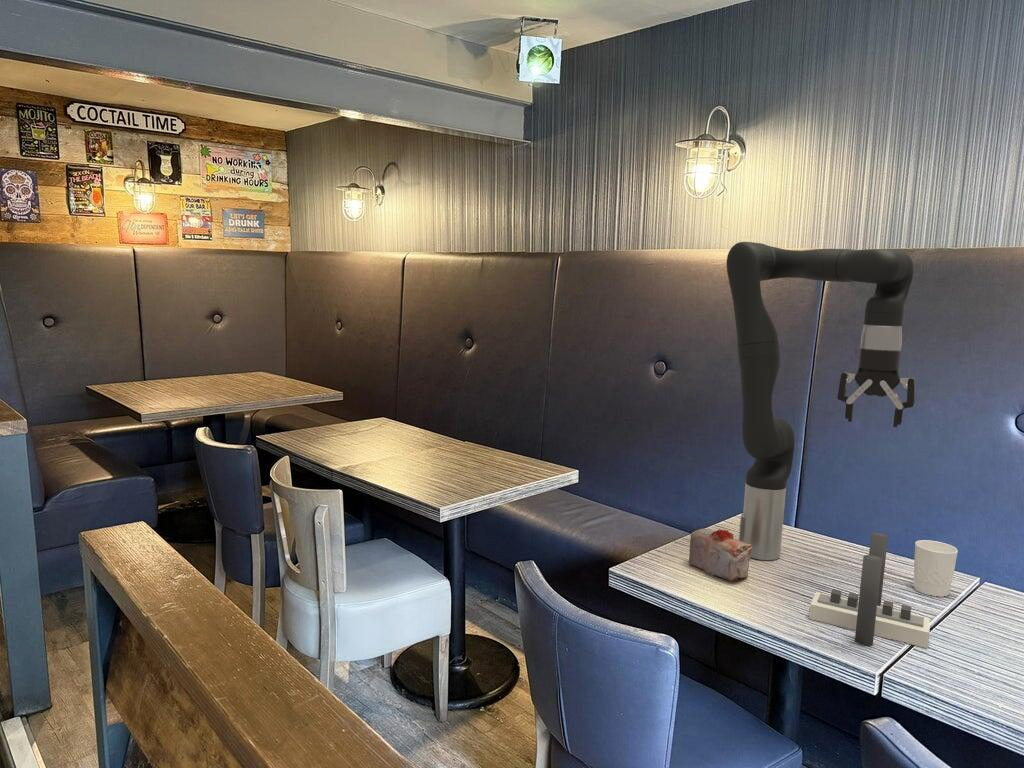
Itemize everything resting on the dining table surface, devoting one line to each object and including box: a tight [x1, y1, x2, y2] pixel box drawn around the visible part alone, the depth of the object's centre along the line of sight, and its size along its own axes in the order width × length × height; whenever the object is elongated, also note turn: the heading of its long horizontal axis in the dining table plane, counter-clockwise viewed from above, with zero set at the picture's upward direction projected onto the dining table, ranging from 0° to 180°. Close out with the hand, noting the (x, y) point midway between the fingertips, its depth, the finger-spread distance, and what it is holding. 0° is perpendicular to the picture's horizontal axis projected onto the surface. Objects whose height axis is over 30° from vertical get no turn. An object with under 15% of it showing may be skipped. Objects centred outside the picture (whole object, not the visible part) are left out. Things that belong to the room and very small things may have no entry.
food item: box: [688, 528, 752, 582], centre depth 160 cm, size 14×8×10 cm, turn 37°
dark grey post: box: [854, 554, 882, 647], centre depth 129 cm, size 3×3×16 cm
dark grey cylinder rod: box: [868, 531, 889, 607], centre depth 141 cm, size 3×3×16 cm
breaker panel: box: [808, 588, 931, 649], centre depth 136 cm, size 20×7×5 cm, turn 58°
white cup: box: [913, 539, 959, 598], centre depth 153 cm, size 8×8×10 cm
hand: (872, 424), depth 149 cm, fingers open, 8 cm apart
